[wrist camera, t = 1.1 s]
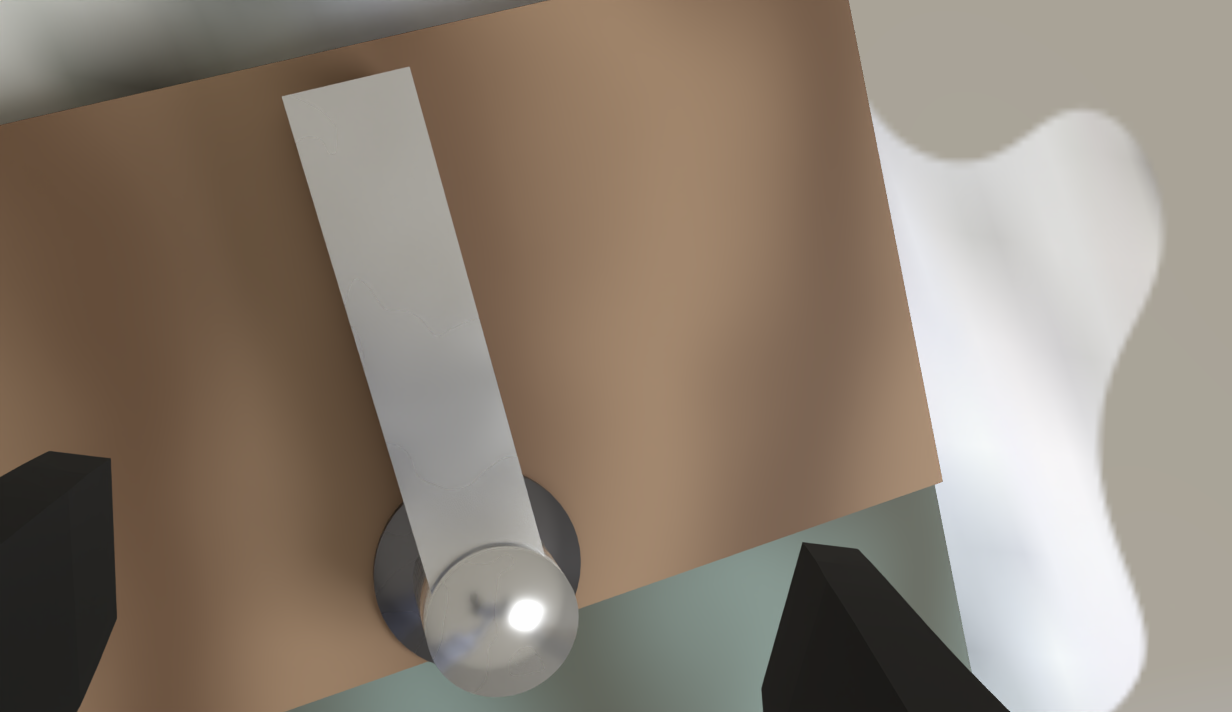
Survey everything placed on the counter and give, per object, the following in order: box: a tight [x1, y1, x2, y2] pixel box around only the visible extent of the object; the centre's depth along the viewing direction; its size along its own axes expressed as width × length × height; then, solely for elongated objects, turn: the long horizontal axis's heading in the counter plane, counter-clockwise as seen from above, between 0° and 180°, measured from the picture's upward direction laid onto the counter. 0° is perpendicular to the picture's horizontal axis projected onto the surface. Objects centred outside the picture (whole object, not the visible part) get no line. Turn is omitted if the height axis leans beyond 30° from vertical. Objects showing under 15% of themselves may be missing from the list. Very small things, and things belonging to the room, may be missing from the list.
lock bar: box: [282, 67, 579, 697], centre depth 20 cm, size 10×3×2 cm, turn 14°
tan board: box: [0, 0, 972, 712], centre depth 23 cm, size 19×22×1 cm
